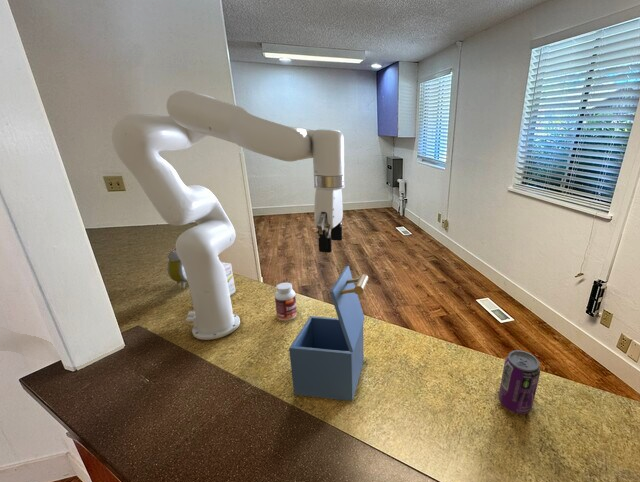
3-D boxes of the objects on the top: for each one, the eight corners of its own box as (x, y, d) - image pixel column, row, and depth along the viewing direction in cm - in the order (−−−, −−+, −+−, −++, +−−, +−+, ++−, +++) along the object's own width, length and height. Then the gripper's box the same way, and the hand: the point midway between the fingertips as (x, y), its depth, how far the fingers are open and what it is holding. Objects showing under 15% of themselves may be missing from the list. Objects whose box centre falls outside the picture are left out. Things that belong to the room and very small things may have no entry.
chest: (293, 394, 69) (288, 348, 65) (313, 357, 81) (310, 315, 76) (352, 401, 68) (351, 354, 63) (363, 362, 79) (363, 320, 75)
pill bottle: (289, 323, 95) (286, 291, 91) (272, 319, 97) (269, 288, 93) (300, 313, 101) (298, 283, 97) (284, 309, 102) (281, 280, 99)
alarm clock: (185, 290, 113) (176, 253, 108) (167, 290, 113) (157, 252, 108) (204, 277, 124) (197, 242, 119) (187, 276, 124) (179, 242, 119)
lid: (329, 291, 59) (356, 287, 58) (345, 266, 71) (368, 262, 70) (349, 352, 63) (375, 349, 62) (361, 318, 75) (383, 315, 74)
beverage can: (528, 422, 64) (539, 376, 60) (494, 406, 67) (502, 362, 63) (533, 399, 69) (544, 356, 65) (502, 386, 73) (509, 344, 69)
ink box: (219, 303, 105) (214, 272, 101) (198, 300, 107) (192, 269, 103) (236, 291, 113) (231, 262, 109) (216, 288, 115) (211, 260, 111)
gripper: (326, 177, 85) (327, 235, 91) (301, 186, 69) (305, 256, 75) (352, 178, 84) (352, 237, 90) (333, 187, 68) (335, 258, 74)
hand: (331, 245), depth 82 cm, fingers open, 9 cm apart
